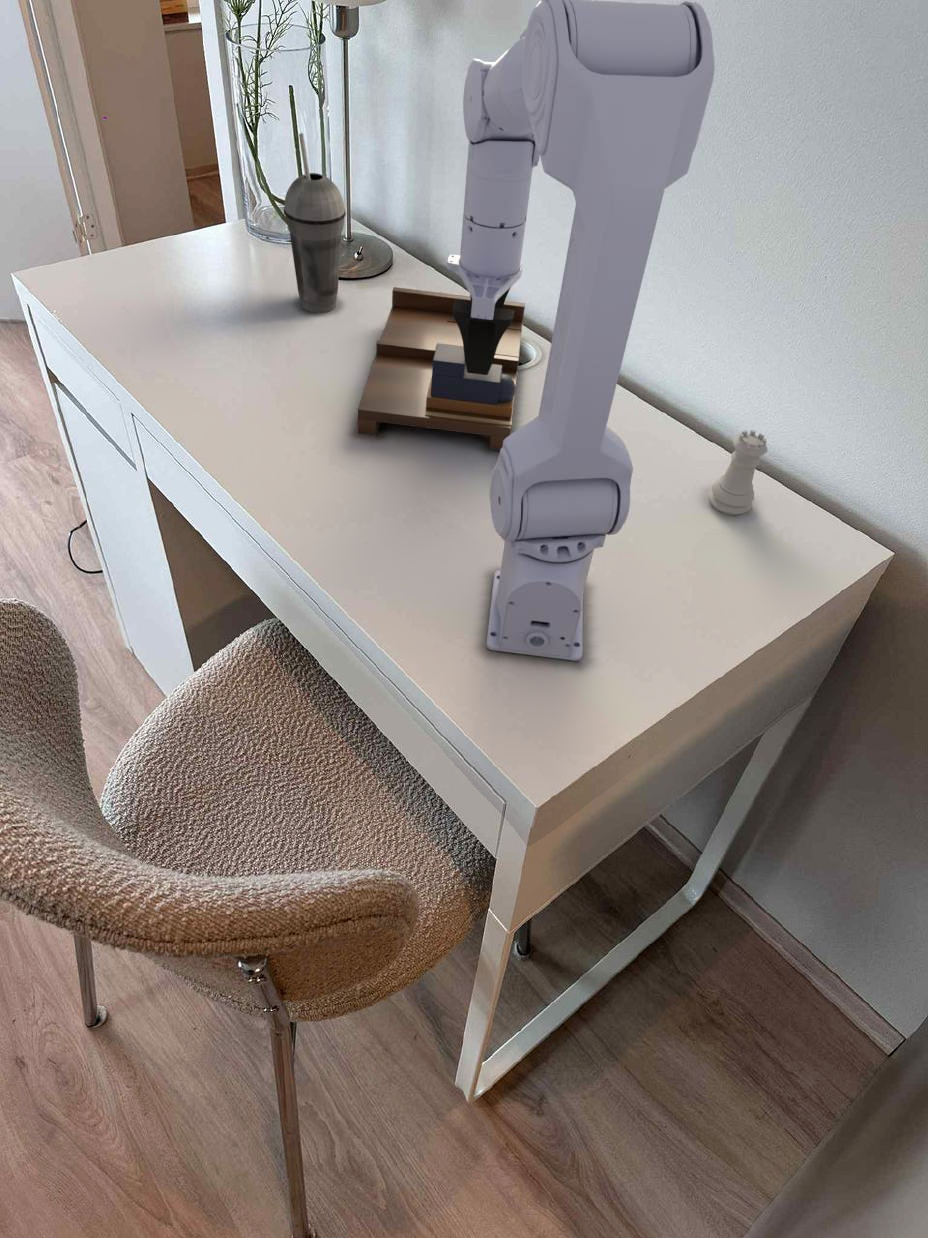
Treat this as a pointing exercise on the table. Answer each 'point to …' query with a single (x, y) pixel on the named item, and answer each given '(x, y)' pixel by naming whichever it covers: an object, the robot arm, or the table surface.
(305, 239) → the beverage cup
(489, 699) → the table surface
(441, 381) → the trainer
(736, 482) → the rook chess piece
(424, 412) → the shoe shelf
